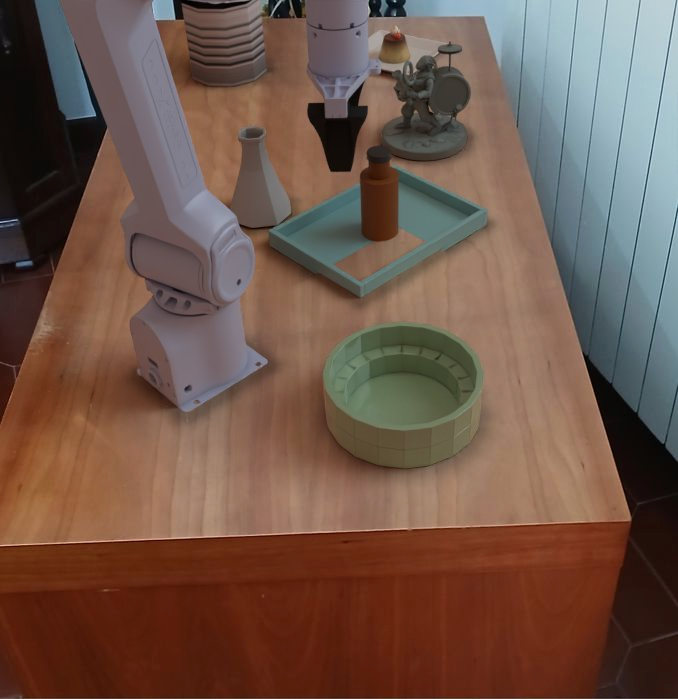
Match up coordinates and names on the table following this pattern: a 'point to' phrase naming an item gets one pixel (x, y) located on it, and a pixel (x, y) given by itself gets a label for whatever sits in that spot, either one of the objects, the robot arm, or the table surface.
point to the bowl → (403, 394)
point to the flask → (258, 184)
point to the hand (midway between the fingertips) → (342, 151)
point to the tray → (346, 238)
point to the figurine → (425, 126)
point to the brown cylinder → (379, 196)
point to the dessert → (399, 49)
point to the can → (225, 41)
